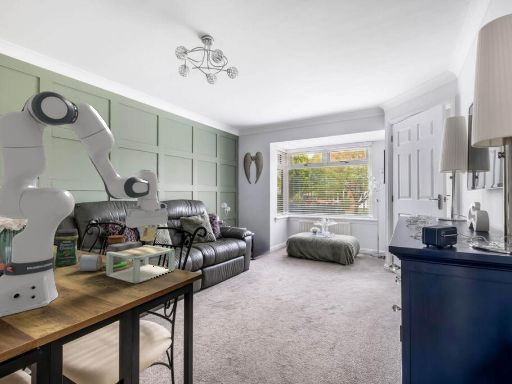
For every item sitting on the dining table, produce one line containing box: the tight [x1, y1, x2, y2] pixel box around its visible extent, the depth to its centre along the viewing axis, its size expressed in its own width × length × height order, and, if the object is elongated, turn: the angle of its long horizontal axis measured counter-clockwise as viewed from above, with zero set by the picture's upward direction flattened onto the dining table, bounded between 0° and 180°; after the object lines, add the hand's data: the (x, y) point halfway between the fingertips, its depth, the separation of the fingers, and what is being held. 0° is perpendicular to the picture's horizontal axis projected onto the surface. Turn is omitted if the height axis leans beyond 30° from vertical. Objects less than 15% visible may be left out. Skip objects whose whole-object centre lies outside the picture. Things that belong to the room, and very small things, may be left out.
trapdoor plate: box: [107, 240, 165, 258], centre depth 127 cm, size 16×24×5 cm
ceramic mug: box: [78, 254, 103, 272], centre depth 131 cm, size 11×8×8 cm
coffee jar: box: [54, 228, 79, 267], centre depth 140 cm, size 10×8×19 cm
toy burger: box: [103, 234, 130, 269], centre depth 139 cm, size 12×13×15 cm
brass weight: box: [139, 226, 156, 242], centre depth 123 cm, size 4×5×6 cm
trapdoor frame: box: [105, 244, 176, 284], centre depth 125 cm, size 21×21×10 cm
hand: (147, 235), depth 123 cm, fingers closed on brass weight, 4 cm apart
